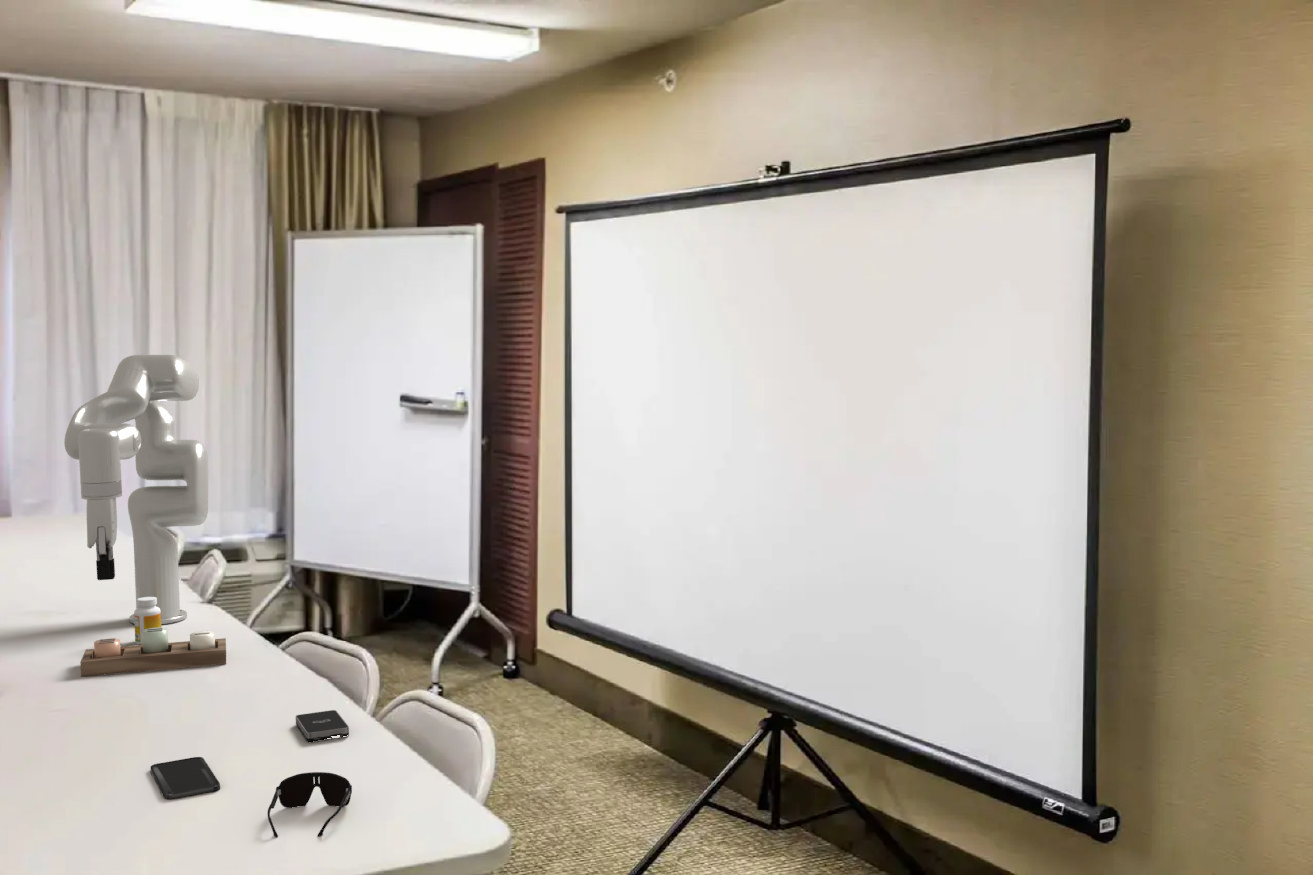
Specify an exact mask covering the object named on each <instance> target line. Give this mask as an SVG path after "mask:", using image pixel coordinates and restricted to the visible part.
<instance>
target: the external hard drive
mask: <svg viewBox="0 0 1313 875" xmlns="http://www.w3.org/2000/svg"><path fill="white" fill-rule="evenodd" d="M295 725H296V727H297V728H298V729H299V732H301V735H302V736H303V737H304V739H305V740H306V742H307V741H308V742H307V743H309V742H311V743H314V742H313V741H318V740H324V739H327V738H332V737H331V736H337V735H340V737H343V736H347V735H348V736H349V734H350V729H349V725H348V724H347V722H346V720H344V718H343V717H342V716H341V715H340V713H339V712H338V711H337V710H335V709H331V710H324V711H323V710H322V711H316V712H315V711H314V712H309V713H303V714H302V713H301V714H296V715H295ZM324 741H325V740H324ZM318 742H319V741H318Z"/></svg>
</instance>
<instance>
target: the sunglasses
mask: <svg viewBox="0 0 1313 875" xmlns="http://www.w3.org/2000/svg"><path fill="white" fill-rule="evenodd" d="M317 787H318V788H319V789H320V792H321V795H322V797H323V800H324V802H325V803H326V805H327V806H328V807H336V806H339V807H337V809H336V811H335V812H334V813H333V814H332V815H330V817H328V818H327V820H326V821H325V822H324V824H323V825H322V827H321V828H320V830H319V831H318V833H317V837H322V836H323V835H324V831H325V830H326V827H327V826H328V825H329V823H330V822H331V821H332V820H333V819H334V818H335V817H336V816H337V815H338V814H339V813H340V811H341V810H342V808H344V807H347V806H348V805H349V803H350V802H351V798H352V793H353V792H352V791H353V788H352V787H353V785H351V783H350V781H349V780H348V778H346V777H344V776H342V775H339V774H336V773H332V772H326V771H322V772H321V771H314V772H313V771H311V772H310V771H309V772H303V773H302V772H301V773H297V774H295V775H292V776H289V777H286V778H284V779H283V780H281V782H280V783H279V784H278V786H276V788H275V792H274V794H273V797H272V799H271V802H270V804H269V806H268V809H267V820H268V823H269V825H270V829H271V830H272V833H273V836H274V837H275V838H278V837H279V834H278V832H277V831H276V829H275V826H274V822H273V821H272V819H271V812H272V811H271V810H272V809H275V806H276V803H277V800H278V799H279V802H280V805H281V806H282V807H284V808H286V809H293V808H292V807H295V808H298V807H297V806H304V807H305V806H306V805H307V804H308V803H309V801H310V799H311V796H312V795H313V792H314V790H315V788H317Z"/></svg>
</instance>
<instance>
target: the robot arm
mask: <svg viewBox="0 0 1313 875" xmlns="http://www.w3.org/2000/svg"><path fill="white" fill-rule="evenodd" d="M115 369H116V370H115V372H114V374H113V377H112V379H111V381H110V384H109V386H108V389H107V391H105V392H103V393H102V394H99V395H98V396H96V397H94V398H93V399H90V400H89V401H87V402H85V403H84V404H82V405H81V406H79V407H78V408H77V410H75V411H74V413H73V414H72V415H71V419H70V421H69V423H68V425H67V428H66V431H65V435H64V441H63V442H64V450H65V452H66V454H67V455H68V456H69V457H70V458H71V459H73V460H77V461H78V464H79V465H78V466H79V478H80V479H79V480H80V494H81V495H80V496H81V497H80V499H83V500H86V534H87V535H86V538H87V539H86V540H87V543H86V545H87V548H88V549H92V547H94V546H95V551H96V561H95V563H96V565H95V566H96V579H97V581H107V580H109V581H110V580H114V579H115V577H116V568H115V558H114V550H113V549H114V547H113V546H115V543H116V541H117V536H118V534H117V532H118V514H117V498H121V497H122V496H123V486H122V469H121V467H122V466H121V460H130V459H132V458H133V457H135V470H136V474H137V475H138V477H139V478H141V479H143V480H146V481H185V482H186V485H150V486H142V487H139V488H136V489H135V490H133V491H132V492H130V495H129V497H128V498H127V499H128V500H127V510H128V516H129V520H130V524H131V525H130V526H131V531H132V539H133V542H132V543H133V554H134V555H133V556H134V557H133V559H134V560H133V561H134V582H135V585H134V586H135V588H134V589H135V606H136V607H135V610H136V609H137V608H139V606H137V599H138V598H142V597H156V598H157V604H156V607H159V608H160V610H161V625H166V624H173V623H177V622H181V621H183V620H185V619H187V617H188V612H187V611H186V610H184V609H181V606H180V601H181V600H180V574H179V552H178V549H179V548H178V544H177V543H178V542H177V541H176V539H175V537H174V536H173V535H172V533H171V532H170V531H169V530H168V529H167V528H170V527H195V526H200V525H203V524H204V523H205V522H206V521H207V517H208V511H209V456H208V452H207V449H206V447H205V445H204V444H203V442H202V441H199V440H197V439H196V440H195V439H176V438H175V437H176V436H175V433H176V432H175V431H176V430H175V425H176V424H175V423H176V422H175V418H174V415H173V414H172V413H171V411H170V410H169V409H168V407H167V406H165V405H164V404H163V402H179V401H180V402H183V401H184V402H187V401H190V400H193V399H194V398H195V397H196V396H197V395H198V392H199V388H200V379H199V375H198V372H197V370H196V369H195V367H194V366H193V365H192V364H191V363H189V362H188V361H187V360H185V359H183V358H182V357H180V356H178V355H174V354H133V355H129V356H126V357H125V358H123V359H122V360H120V362H119V363H118V365H117V367H116V368H115ZM133 420H134V422H135V426H134V425H133V424H129V423H126V422H129V421H133ZM129 623H130V624H134V625H135V622H134V613H133V614H131V615H130V616H129Z"/></svg>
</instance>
